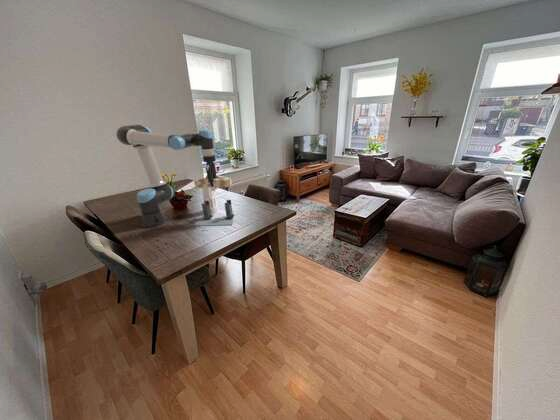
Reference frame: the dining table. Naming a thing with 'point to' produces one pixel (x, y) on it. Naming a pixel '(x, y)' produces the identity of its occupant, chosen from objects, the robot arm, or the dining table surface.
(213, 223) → the mat
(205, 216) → the standard left
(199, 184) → the rail
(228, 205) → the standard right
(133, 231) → the dining table surface
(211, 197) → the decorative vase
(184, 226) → the dining table surface
